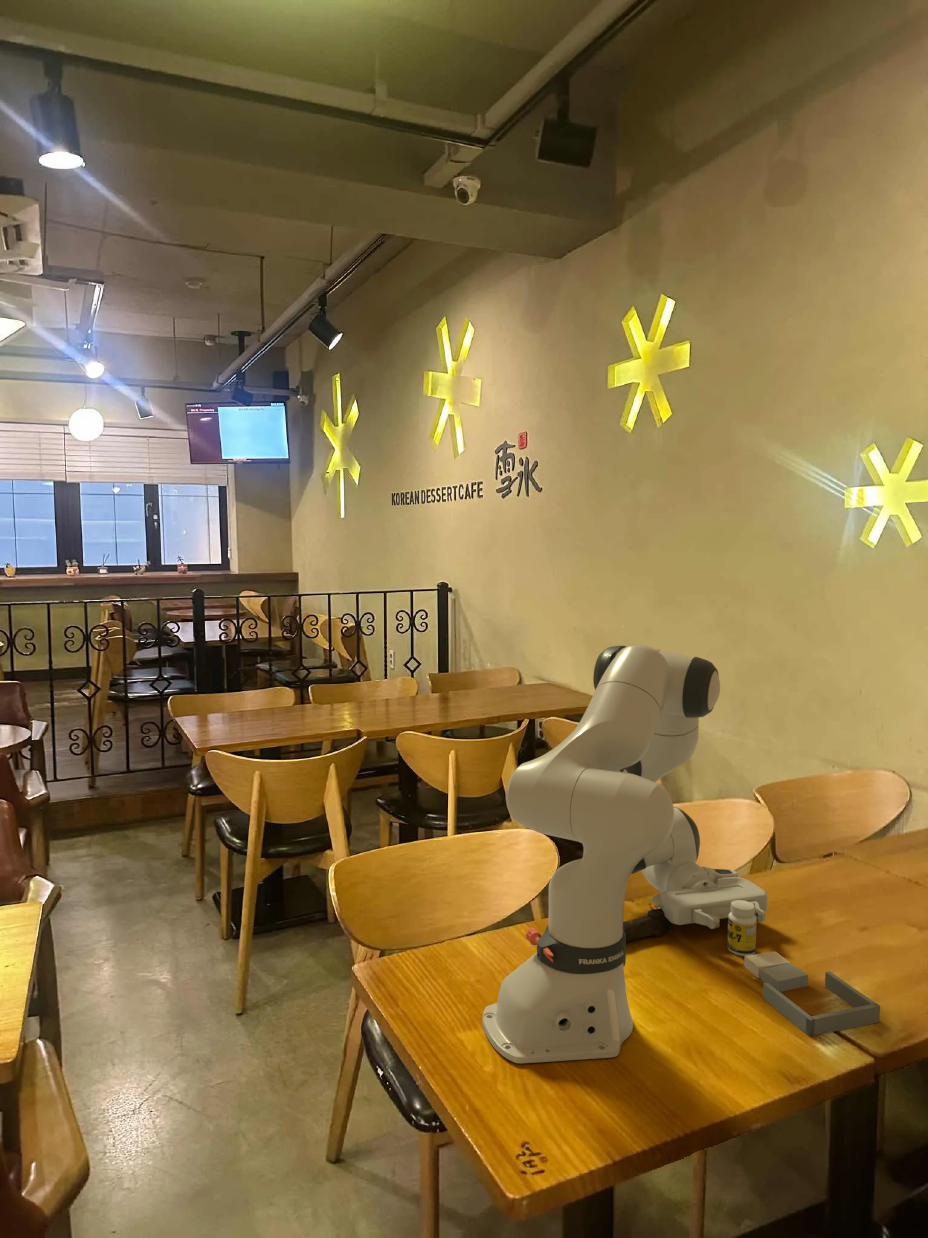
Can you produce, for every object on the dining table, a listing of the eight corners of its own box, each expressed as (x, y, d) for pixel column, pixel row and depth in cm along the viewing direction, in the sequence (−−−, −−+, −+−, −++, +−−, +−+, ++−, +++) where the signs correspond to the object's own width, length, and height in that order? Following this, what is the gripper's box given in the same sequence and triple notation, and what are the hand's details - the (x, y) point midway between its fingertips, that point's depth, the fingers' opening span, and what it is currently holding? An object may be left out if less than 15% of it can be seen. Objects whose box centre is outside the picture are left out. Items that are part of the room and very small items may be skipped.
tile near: (777, 994, 133) (778, 981, 132) (760, 982, 136) (761, 969, 136) (807, 987, 135) (808, 974, 134) (790, 976, 138) (790, 963, 138)
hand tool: (597, 956, 145) (597, 931, 145) (585, 946, 149) (585, 921, 148) (685, 936, 153) (685, 912, 152) (671, 927, 156) (672, 903, 156)
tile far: (758, 980, 137) (758, 967, 137) (744, 968, 141) (744, 955, 141) (789, 975, 139) (789, 962, 138) (774, 963, 142) (775, 951, 142)
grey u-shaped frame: (809, 1036, 121) (810, 1020, 120) (763, 998, 131) (763, 983, 131) (879, 1022, 124) (880, 1006, 124) (829, 986, 134) (829, 971, 134)
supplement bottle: (721, 947, 148) (722, 901, 147) (742, 942, 150) (743, 897, 149) (740, 959, 143) (741, 912, 143) (761, 954, 145) (762, 907, 144)
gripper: (647, 881, 156) (688, 911, 143) (740, 868, 162) (787, 897, 149) (647, 913, 157) (687, 946, 144) (739, 900, 163) (786, 930, 150)
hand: (739, 921), depth 147 cm, fingers open, 8 cm apart
